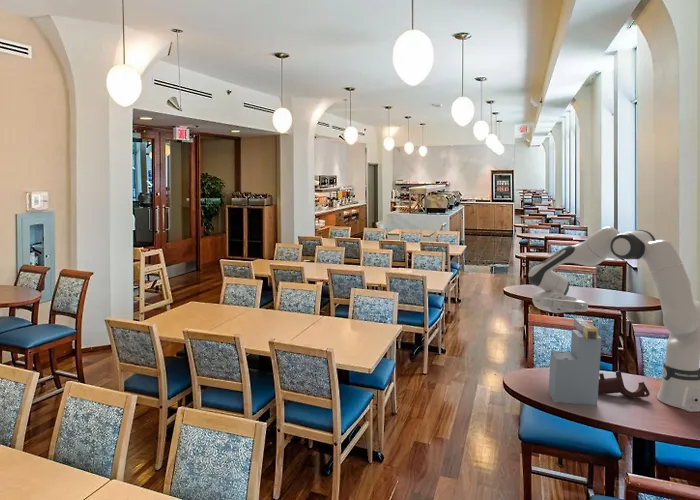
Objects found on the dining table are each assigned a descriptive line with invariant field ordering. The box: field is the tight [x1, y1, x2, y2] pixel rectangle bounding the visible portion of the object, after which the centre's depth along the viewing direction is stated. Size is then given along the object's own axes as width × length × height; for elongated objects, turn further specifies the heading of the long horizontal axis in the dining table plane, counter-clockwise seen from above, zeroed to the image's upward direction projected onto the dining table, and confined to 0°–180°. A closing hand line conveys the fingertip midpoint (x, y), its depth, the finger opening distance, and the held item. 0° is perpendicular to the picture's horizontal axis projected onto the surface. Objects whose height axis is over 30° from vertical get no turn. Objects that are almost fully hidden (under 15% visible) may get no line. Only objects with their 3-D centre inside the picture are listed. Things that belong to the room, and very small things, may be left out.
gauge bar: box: [572, 317, 599, 340], centre depth 199 cm, size 4×20×4 cm, turn 170°
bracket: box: [598, 370, 651, 399], centre depth 202 cm, size 6×18×11 cm, turn 76°
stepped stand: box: [548, 329, 602, 406], centre depth 198 cm, size 16×10×26 cm, turn 80°
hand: (572, 306), depth 212 cm, fingers open, 8 cm apart
